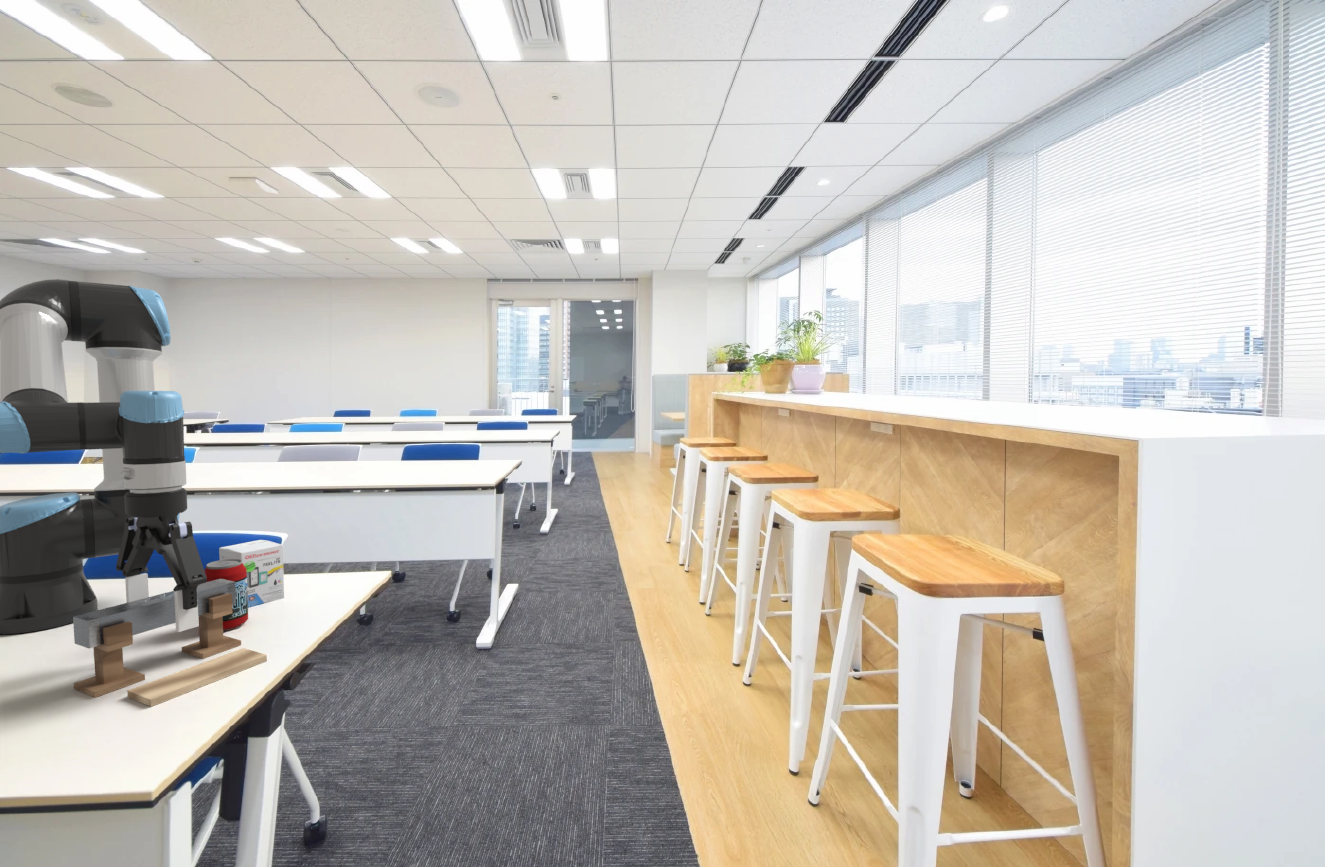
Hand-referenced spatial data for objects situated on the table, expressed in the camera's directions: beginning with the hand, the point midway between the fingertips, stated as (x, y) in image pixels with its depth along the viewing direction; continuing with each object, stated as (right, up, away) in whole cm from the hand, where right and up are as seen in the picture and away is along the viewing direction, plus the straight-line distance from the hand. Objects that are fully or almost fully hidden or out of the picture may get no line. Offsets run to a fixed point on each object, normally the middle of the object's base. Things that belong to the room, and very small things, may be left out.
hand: (162, 621), depth 96 cm
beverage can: (-2, -6, +17) cm, 18 cm away
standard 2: (+3, -7, +7) cm, 10 cm away
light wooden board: (+9, -8, -4) cm, 12 cm away
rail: (0, 0, 0) cm, 0 cm away
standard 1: (-3, -8, -6) cm, 10 cm away
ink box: (-6, -5, +31) cm, 32 cm away
